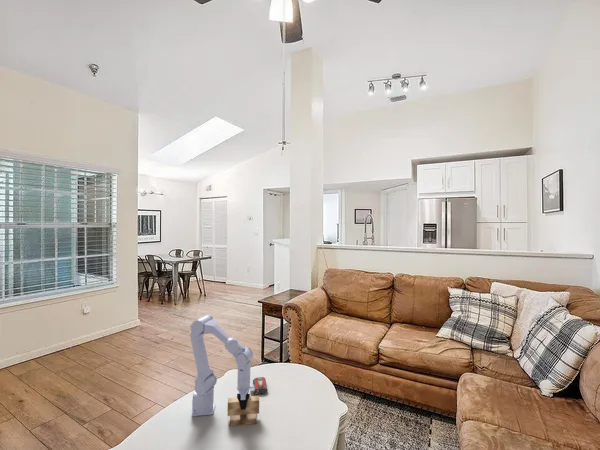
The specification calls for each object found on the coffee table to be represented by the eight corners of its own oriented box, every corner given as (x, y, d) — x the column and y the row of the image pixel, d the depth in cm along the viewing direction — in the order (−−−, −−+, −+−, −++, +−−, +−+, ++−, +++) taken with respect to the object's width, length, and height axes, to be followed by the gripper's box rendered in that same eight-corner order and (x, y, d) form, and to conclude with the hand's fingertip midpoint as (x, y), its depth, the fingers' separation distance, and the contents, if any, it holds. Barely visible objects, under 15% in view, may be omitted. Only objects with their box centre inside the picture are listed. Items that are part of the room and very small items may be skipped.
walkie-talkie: (249, 382, 163) (250, 404, 144) (249, 374, 163) (251, 395, 143) (265, 381, 165) (268, 402, 145) (265, 373, 165) (268, 393, 145)
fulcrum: (228, 426, 128) (229, 419, 127) (230, 414, 135) (230, 407, 135) (256, 423, 129) (256, 417, 129) (256, 412, 137) (256, 405, 137)
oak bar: (227, 416, 130) (227, 402, 130) (228, 411, 133) (228, 398, 133) (259, 413, 132) (259, 400, 132) (258, 408, 135) (259, 395, 135)
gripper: (252, 384, 126) (252, 415, 126) (252, 368, 140) (252, 396, 140) (236, 385, 125) (235, 417, 125) (238, 368, 139) (237, 397, 139)
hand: (243, 406), depth 132 cm, fingers open, 4 cm apart
